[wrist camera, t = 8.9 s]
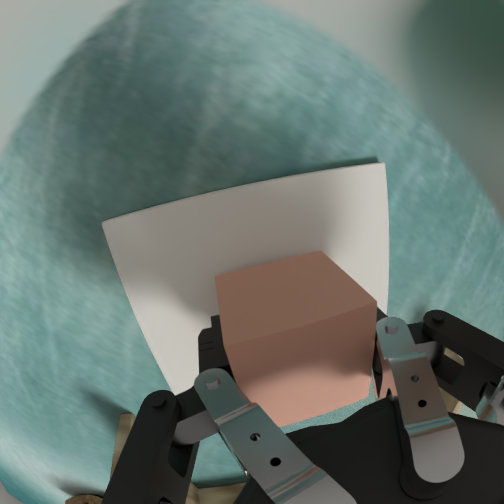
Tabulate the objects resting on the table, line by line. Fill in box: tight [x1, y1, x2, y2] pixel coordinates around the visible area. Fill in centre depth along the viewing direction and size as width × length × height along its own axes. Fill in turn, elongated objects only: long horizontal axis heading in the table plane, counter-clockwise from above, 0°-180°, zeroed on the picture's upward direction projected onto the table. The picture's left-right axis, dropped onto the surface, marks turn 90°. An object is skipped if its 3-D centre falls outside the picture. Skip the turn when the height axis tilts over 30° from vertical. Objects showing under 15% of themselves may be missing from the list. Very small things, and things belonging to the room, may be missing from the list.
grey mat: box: [101, 162, 389, 395], centre depth 15 cm, size 14×12×1 cm
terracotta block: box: [215, 250, 377, 427], centre depth 12 cm, size 5×5×5 cm
